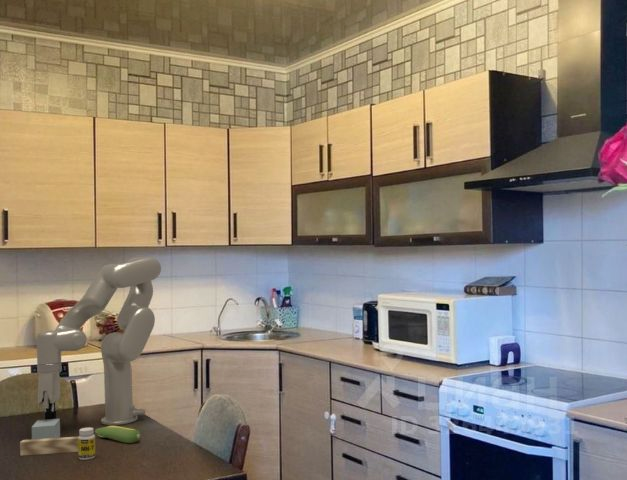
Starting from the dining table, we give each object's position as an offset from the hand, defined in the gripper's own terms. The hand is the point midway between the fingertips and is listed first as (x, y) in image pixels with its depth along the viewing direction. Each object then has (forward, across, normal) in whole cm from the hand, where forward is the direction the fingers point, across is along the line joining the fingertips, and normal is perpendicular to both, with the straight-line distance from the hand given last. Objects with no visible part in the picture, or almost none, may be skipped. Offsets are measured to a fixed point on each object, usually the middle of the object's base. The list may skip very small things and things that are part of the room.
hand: (50, 423), depth 227 cm
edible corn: (+5, +10, +24) cm, 26 cm away
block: (+4, +6, 0) cm, 8 cm away
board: (+4, +20, +7) cm, 21 cm away
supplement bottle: (+4, +28, +18) cm, 33 cm away
